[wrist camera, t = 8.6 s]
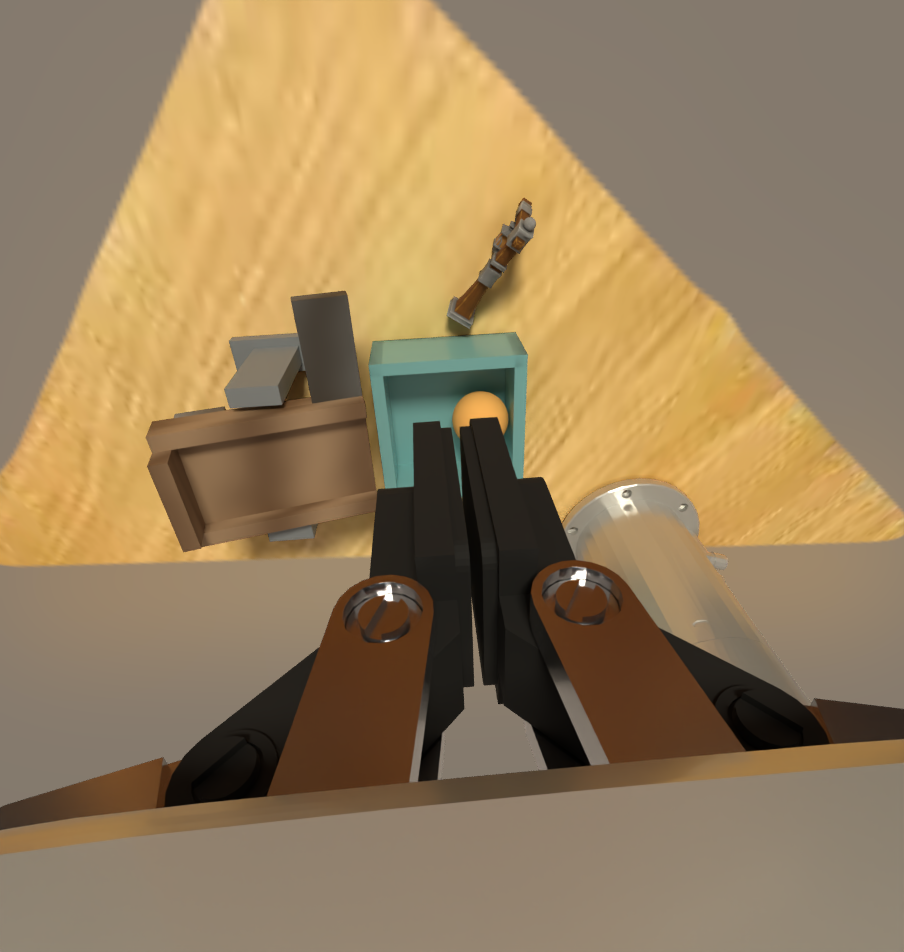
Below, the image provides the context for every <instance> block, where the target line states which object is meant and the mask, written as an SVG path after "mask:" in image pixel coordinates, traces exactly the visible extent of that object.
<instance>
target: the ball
mask: <svg viewBox="0 0 904 952" xmlns="http://www.w3.org/2000/svg"><path fill="white" fill-rule="evenodd" d="M488 417H498V420H499V423H500V426H501V429H502V433H503V435H504V434H505V432H506V429H507V426H508V412H507V409H506V407H505V405H504V403H503V402H502V401H501V400H500V398H498V397H497V396H496V395H494V394H492V393H489V392H485V391H476V392H472V393H469V394H467V395H465V396H464V397H463V398H461V399H460V401H459V402H458V403H457V405H456V406H455V408H454V411H453V416H452V423H453V428H454V430H455V433H456V434H457V436H458V437H459V438H460V427H461V426H469V422H470V419H474V418H488Z"/></svg>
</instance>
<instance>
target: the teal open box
mask: <svg viewBox="0 0 904 952" xmlns="http://www.w3.org/2000/svg"><path fill="white" fill-rule="evenodd" d="M527 359H528V354H527V352H526V351H525V349H524V347H523V345H522V343H521V341H520V340H519V338H518V336H517V334H516V332H511V333H495V334H480V335H464V336H449V337H433V338H418V339H402V340H387V341H373V343H372V348H371V354H370V360H369V372H370V379H371V387H372V394H373V402H374V409H375V416H376V424H377V431H378V438H379V446H380V453H381V461H382V468H383V475H384V483H385V489H386V488H400V487H413V486H414V469H413V423H416V422H431V421H440V425H441V428H447V427H451V429H452V435H453V442H454V449H455V456H456V463H457V469H458V476H459V483H460V490H461V497H462V480H461V455H460V438H459V437H458V436H457V434H456V433H455V430H454V428H453V423H452V416H453V411H454V408H455V406H456V405H457V403H458V402H459V401H460V399H461V398H463V397H464V396H465V395H467V394H469V393H472V392H476V391H485V392H489V393H492V394H494V395H496V396H497V397H498V398H500V400H501V401H502V402H503V403H504V405H505V407H506V409H507V412H508V426H507V429H506V432H505V434H504V435H503V436H504V439H505V442H506V445H507V448H508V451H509V455H510V458H511V461H512V464H513V467H514V470H515V474H516V477H517V479H521V478H523V467H524V440H525V413H526V386H527Z"/></svg>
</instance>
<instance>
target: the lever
mask: <svg viewBox="0 0 904 952" xmlns="http://www.w3.org/2000/svg"><path fill="white" fill-rule="evenodd" d="M291 303H292V308H293V313H294V317H295V322H296V327H297V332H298V337H299V342H300V347H301V351H302V356H303V361H304V366H305V371H306V376H307V381H308V385H309V390H310V395H311V397H309V398H302V399H296V400H289V401H284V402H283V404H282V405H272V406H257V407H244V408H237V409H231V410H226V409H225V407H218V408H212V409H205V410H199V411H192V412H185V413H179V414H175V415H174V418H172V419H166V420H159V421H153V422H152V424H151V426H150V428H149V431H148V433H147V436H146V439H147V442H148V444H149V447H150V449H151V451H152V455H151V458H150V460H149V463H148V466H147V467H148V470H149V472H150V475H151V477H152V479H153V482H154V484H155V486H156V489H157V491H158V493H159V496H160V498H161V500H162V503H163V505H164V508H165V510H166V512H167V515H168V517H169V519H170V522H171V524H172V526H173V529H174V531H175V534H176V536H177V538H178V541H179V543H180V545H181V548H182V550H183V552H187V551H191V550H196V549H201V547H205V546H210V545H214V544H219V543H224V542H229V541H234V540H239V539H244V538H249V537H253V536H258V535H263V534H268V533H273V532H278V531H283V530H287V529H292V528H297V527H302V526H307V525H312V524H317V523H322V522H326V521H331V520H336V519H341V518H346V517H351V516H356V515H361V514H365V513H370V512H375V511H376V500H377V491H376V486H375V479H374V472H373V465H372V459H371V452H370V445H369V438H368V431H367V425H366V418H367V415H366V408H365V402H364V399H363V397H362V391H361V384H360V377H359V370H358V364H357V357H356V350H355V343H354V337H353V330H352V323H351V316H350V309H349V303H348V296H347V293H346V291H338V292H330V293H321V294H312V295H303V296H294V297H291Z"/></svg>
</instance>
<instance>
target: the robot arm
mask: <svg viewBox="0 0 904 952" xmlns="http://www.w3.org/2000/svg"><path fill="white" fill-rule="evenodd" d="M460 455H461V480H462V497H461V490H460V483H459V476H458V469H457V463H456V456H455V449H454V442H453V435H452V429H451V427H447V428H441V425H440V421H431V422H416V423H413V469H414V486H413V487H400V488H386V489H378V491H377V500H376V511H375V522H374V533H373V544H372V556H371V568H370V578H369V579H366V580H363V581H361V582H359V583H357V584H355V585H354V586H352V587H350V588H349V589H348V590H347V591H346V592H345V593H344V594H343V595H342V596H341V597H340V598H339V599H338V601H337V603H336V605H335V607H334V608H333V611H332V614H331V616H330V619H329V622H328V625H327V628H326V630H325V633H324V636H323V639H322V642H321V644H320V647H319V648H318V649H316V650H315V651H314V652H313V653H311V654H310V655H309V656H307V657H306V658H305V659H304V660H302V661H301V662H300V663H298V664H297V665H296V666H295V667H293V668H292V669H291V670H289V671H288V672H287V673H286V674H285V675H283V676H282V677H281V678H279V679H278V680H277V681H275V682H274V683H273V684H272V685H271V686H269V687H268V688H267V689H265V690H264V691H263V692H261V693H260V694H259V695H258V696H256V697H255V698H254V699H252V700H251V701H250V702H249V703H247V704H246V705H245V706H243V707H242V708H241V709H240V710H238V711H237V712H236V713H235V714H233V715H232V716H231V717H229V718H228V719H227V720H226V721H225V722H223V723H222V724H221V725H219V726H218V727H217V728H215V729H214V730H213V731H212V732H210V733H209V734H208V735H206V736H205V737H204V738H203V739H201V740H200V741H199V742H198V743H197V744H196V745H195V746H194V747H193V748H192V749H191V750H190V751H189V752H188V753H187V754H186V755H185V756H184V757H183V759H182V760H180V761H176V762H173V763H170V764H167V762H166V761H165V759H164V757H162V758H159V759H155V760H152V761H148V762H145V763H142V764H139V765H135V766H132V767H129V768H125V769H122V770H119V771H116V772H112V773H109V774H106V775H103V776H99V777H96V778H92V779H89V780H86V781H83V782H79V783H76V784H73V785H69V786H66V787H63V788H59V789H56V790H53V791H50V792H47V793H43V794H40V795H37V796H33V797H30V798H26V799H23V800H20V801H17V802H14V803H10V804H7V805H4V806H2V807H0V952H904V709H900V708H892V707H884V706H875V705H867V704H858V703H850V702H841V701H833V700H825V699H817V698H816V699H815V698H814V699H813V701H812V702H811V701H810V700H809V699H808V697H807V696H806V695H805V693H804V692H803V691H802V689H801V688H800V687H799V685H798V684H797V683H796V681H795V680H794V678H793V677H792V676H791V674H790V673H789V671H788V670H787V669H786V667H785V666H784V664H783V663H782V662H781V660H780V659H779V658H778V656H777V655H776V653H775V652H774V651H773V649H772V648H771V646H770V645H769V644H768V642H767V641H766V639H765V638H764V637H763V635H762V634H761V632H760V631H759V630H758V628H757V627H756V625H755V624H754V623H753V621H752V620H751V618H750V617H749V616H748V614H747V613H746V611H745V610H744V608H743V607H742V606H741V604H740V603H739V601H738V600H737V599H736V597H735V596H734V594H733V593H732V592H731V590H730V589H729V587H728V586H727V585H726V582H725V579H724V577H722V575H720V574H719V573H718V572H717V570H716V569H719V570H724V569H725V568H726V567H727V564H728V559H727V557H726V556H725V555H722V554H718V553H714V552H708V551H707V550H706V548H705V547H704V546H703V544H702V543H701V542H700V540H699V539H698V534H699V518H698V513H697V511H696V509H695V507H694V505H693V503H692V502H691V501H690V500H689V498H688V497H687V496H686V495H685V494H684V493H683V492H682V491H681V490H679V489H678V488H677V487H675V486H673V485H671V484H669V483H667V482H663V481H659V480H655V479H643V478H639V479H629V480H623V481H620V482H616V483H612V484H610V485H607V486H605V487H602V488H600V489H598V490H596V491H595V492H593V493H591V494H590V495H588V496H586V497H585V498H584V499H583V500H582V501H580V502H579V503H578V504H577V505H576V506H575V507H574V508H573V509H572V510H571V511H570V513H569V514H568V515H567V516H566V518H565V520H564V522H563V523H561V520H560V518H559V515H558V513H557V510H556V508H555V505H554V503H553V500H552V498H551V495H550V492H549V490H548V487H547V485H546V482H545V481H544V479H543V478H542V477H535V478H521V479H517V477H516V474H515V470H514V467H513V464H512V461H511V458H510V455H509V451H508V448H507V445H506V442H505V439H504V436H503V433H502V429H501V426H500V423H499V420H498V417H488V418H474V419H470V422H469V426H461V427H460ZM471 597H472V604H473V612H474V618H475V627H476V633H477V641H478V648H479V656H480V663H481V670H482V678H483V684H484V685H495V687H496V693H497V700H498V704H504V706H506V707H507V708H509V709H510V710H511V711H513V712H514V713H515V714H517V715H518V716H520V717H521V718H522V719H524V727H525V732H526V736H527V739H528V742H529V745H530V747H531V750H532V753H533V756H534V759H535V761H536V764H537V767H538V771H528V772H517V773H506V774H496V775H485V776H475V777H464V778H454V779H443V780H442V770H443V759H444V749H445V734H444V731H445V730H446V728H447V727H448V726H449V725H450V724H451V723H452V722H453V721H454V720H455V719H456V717H457V716H458V715H459V714H460V713H461V712H462V711H463V710H464V694H463V687H472V686H474V668H473V637H472V607H471V606H472V605H471Z"/></svg>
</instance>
